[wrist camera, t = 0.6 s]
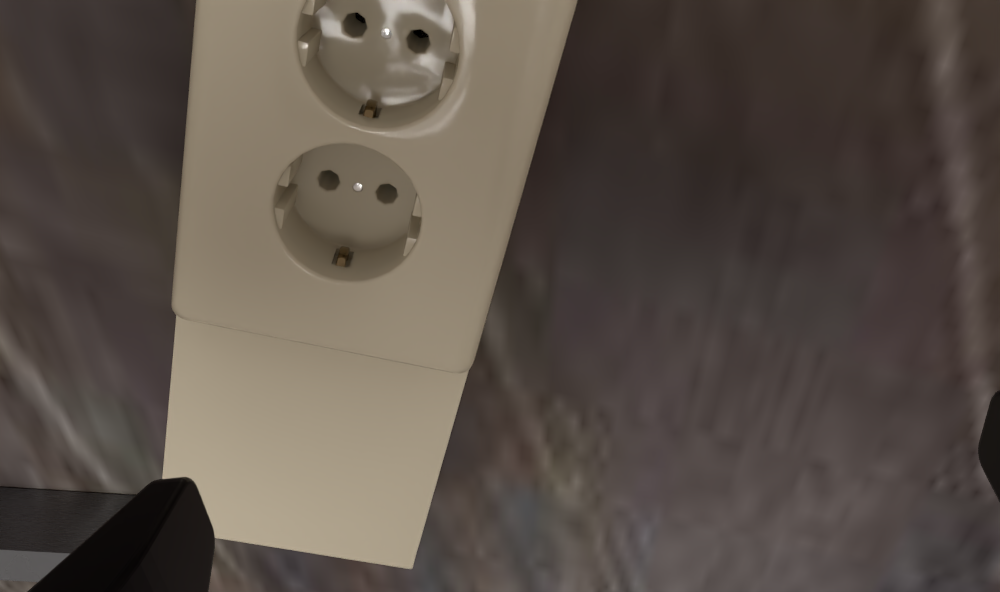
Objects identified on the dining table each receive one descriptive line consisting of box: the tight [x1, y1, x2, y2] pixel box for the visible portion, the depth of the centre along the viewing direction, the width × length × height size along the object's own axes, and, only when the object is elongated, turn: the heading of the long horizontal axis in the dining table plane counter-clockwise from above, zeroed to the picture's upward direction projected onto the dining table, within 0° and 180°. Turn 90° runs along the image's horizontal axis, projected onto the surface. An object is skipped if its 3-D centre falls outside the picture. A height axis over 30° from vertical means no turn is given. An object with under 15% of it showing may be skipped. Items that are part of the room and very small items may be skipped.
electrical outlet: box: [162, 0, 578, 569], centre depth 20 cm, size 7×4×18 cm
